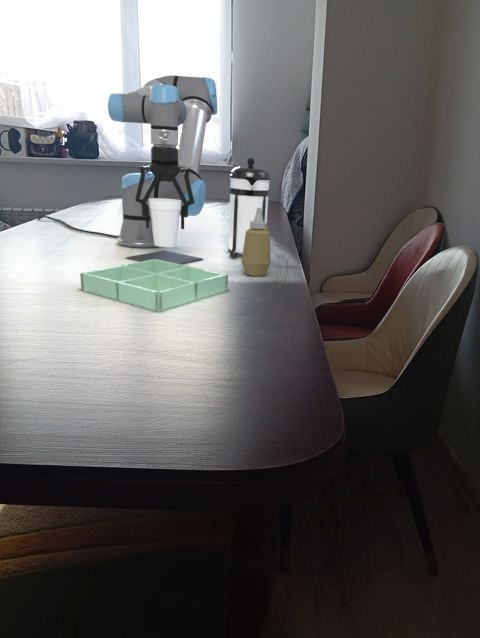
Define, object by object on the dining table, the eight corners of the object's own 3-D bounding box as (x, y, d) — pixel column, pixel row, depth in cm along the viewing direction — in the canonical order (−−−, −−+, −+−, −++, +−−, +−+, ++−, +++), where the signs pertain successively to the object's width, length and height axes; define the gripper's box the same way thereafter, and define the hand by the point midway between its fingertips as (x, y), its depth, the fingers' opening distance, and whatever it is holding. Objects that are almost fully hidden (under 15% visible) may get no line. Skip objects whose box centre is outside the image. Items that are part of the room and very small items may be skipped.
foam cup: (184, 243, 157) (184, 199, 153) (176, 248, 149) (177, 202, 144) (154, 241, 158) (153, 197, 153) (144, 246, 149) (144, 200, 145)
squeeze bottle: (248, 278, 138) (252, 209, 132) (236, 271, 145) (239, 206, 139) (274, 276, 142) (279, 210, 136) (261, 270, 149) (265, 206, 142)
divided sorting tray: (81, 290, 118) (80, 272, 116) (154, 273, 137) (154, 258, 135) (158, 311, 106) (158, 293, 105) (227, 290, 125) (228, 274, 124)
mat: (126, 258, 152) (126, 257, 152) (163, 251, 165) (164, 250, 165) (167, 267, 145) (167, 266, 145) (202, 259, 157) (202, 258, 157)
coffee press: (280, 256, 169) (287, 160, 158) (246, 262, 158) (251, 158, 147) (243, 248, 180) (247, 157, 169) (209, 252, 169) (211, 155, 158)
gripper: (123, 143, 138) (126, 228, 146) (205, 149, 142) (204, 231, 151) (124, 143, 144) (126, 224, 152) (202, 149, 149) (201, 227, 157)
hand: (165, 227), depth 151 cm, fingers closed on foam cup, 9 cm apart
